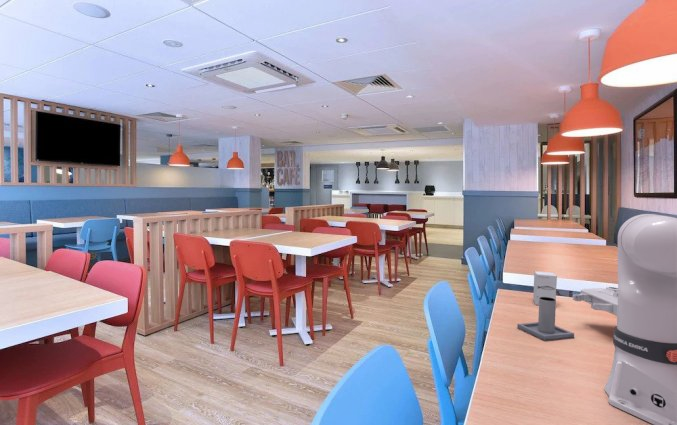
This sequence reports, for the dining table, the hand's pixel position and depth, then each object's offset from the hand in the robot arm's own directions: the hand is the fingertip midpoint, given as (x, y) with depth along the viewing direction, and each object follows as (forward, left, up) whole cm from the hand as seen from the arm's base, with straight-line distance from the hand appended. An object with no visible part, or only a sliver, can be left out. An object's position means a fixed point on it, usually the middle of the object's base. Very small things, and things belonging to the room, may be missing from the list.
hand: (582, 301), depth 115 cm
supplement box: (+30, -15, -10) cm, 35 cm away
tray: (+3, +11, -10) cm, 15 cm away
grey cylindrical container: (+3, +11, -10) cm, 15 cm away
